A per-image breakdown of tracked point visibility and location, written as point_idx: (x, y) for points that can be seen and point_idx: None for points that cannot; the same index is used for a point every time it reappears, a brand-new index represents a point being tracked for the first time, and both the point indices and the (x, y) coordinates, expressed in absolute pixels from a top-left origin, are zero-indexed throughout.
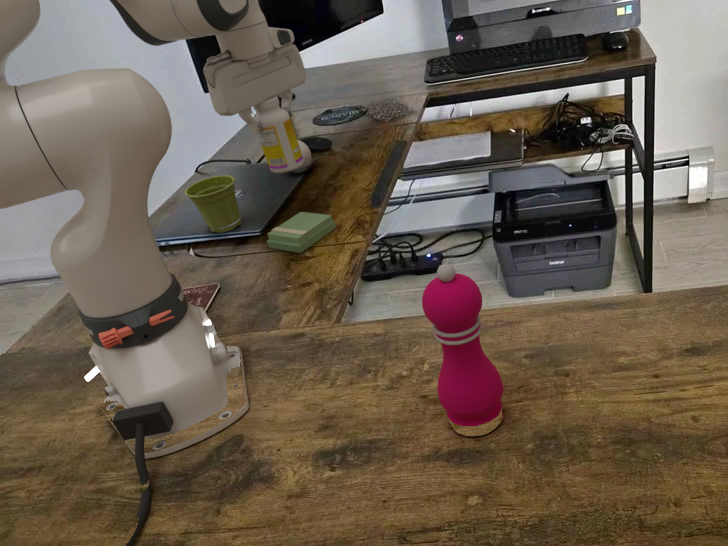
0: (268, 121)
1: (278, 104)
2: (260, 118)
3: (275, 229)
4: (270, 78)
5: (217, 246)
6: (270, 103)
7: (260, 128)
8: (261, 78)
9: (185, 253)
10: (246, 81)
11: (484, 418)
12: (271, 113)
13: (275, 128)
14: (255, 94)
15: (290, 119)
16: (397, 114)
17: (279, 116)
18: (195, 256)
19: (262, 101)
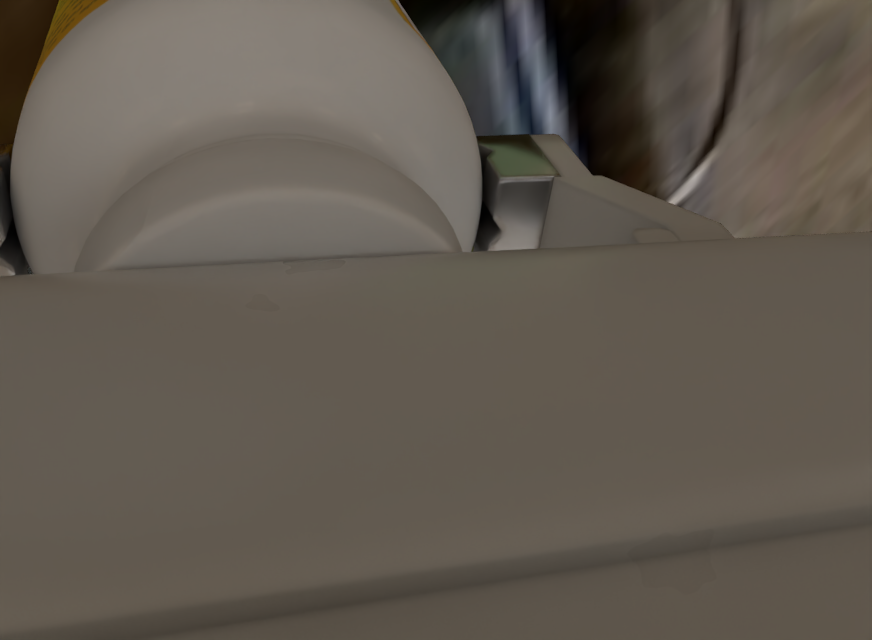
0: (448, 93)
1: (182, 157)
2: (460, 216)
3: None
4: (132, 503)
5: (639, 115)
6: (366, 175)
7: (507, 144)
8: (442, 534)
9: (692, 208)
10: (867, 544)
11: None
12: (359, 135)
13: (396, 10)
14: (650, 322)
15: (77, 17)
16: None
17: (307, 18)
18: (719, 142)
19: (484, 251)
